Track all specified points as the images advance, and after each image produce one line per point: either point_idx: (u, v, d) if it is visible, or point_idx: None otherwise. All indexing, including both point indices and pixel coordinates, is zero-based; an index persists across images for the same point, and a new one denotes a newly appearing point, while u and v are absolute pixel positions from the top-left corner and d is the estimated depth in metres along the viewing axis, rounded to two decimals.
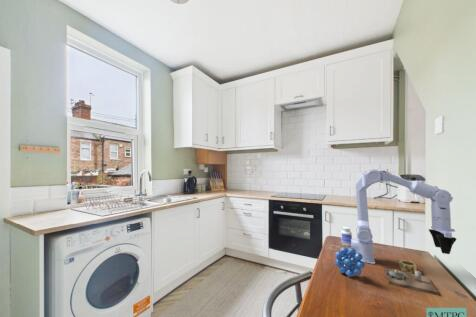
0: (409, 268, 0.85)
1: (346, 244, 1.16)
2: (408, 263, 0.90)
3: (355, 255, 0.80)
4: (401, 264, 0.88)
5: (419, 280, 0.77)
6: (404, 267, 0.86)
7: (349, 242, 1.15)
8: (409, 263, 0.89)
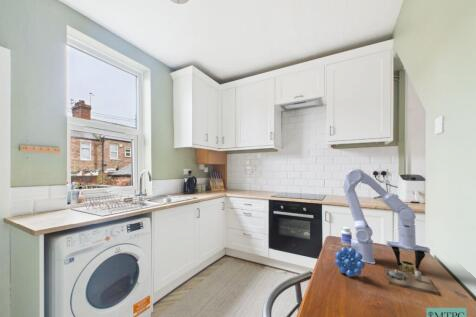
0: (409, 268, 0.85)
1: (346, 244, 1.16)
2: (408, 263, 0.90)
3: (355, 255, 0.80)
4: (401, 264, 0.88)
5: (419, 280, 0.77)
6: (404, 267, 0.86)
7: (349, 242, 1.15)
8: (409, 263, 0.89)
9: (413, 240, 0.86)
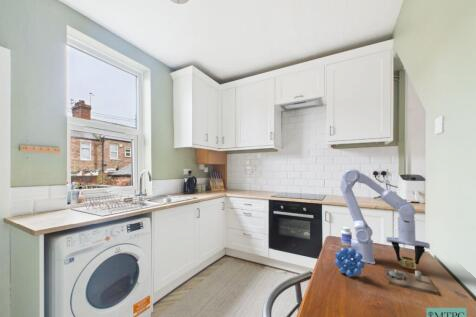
0: (409, 263, 0.85)
1: (346, 244, 1.16)
2: (408, 258, 0.90)
3: (355, 255, 0.80)
4: (401, 259, 0.88)
5: (419, 280, 0.77)
6: (404, 262, 0.87)
7: (349, 242, 1.15)
8: (409, 258, 0.89)
9: (413, 235, 0.86)
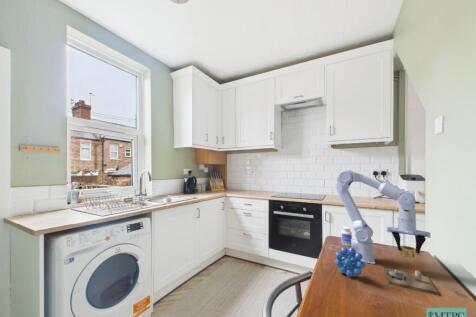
0: (410, 253, 0.85)
1: (346, 244, 1.16)
2: (408, 248, 0.89)
3: (355, 255, 0.80)
4: (401, 249, 0.88)
5: (419, 280, 0.77)
6: (405, 252, 0.86)
7: (349, 242, 1.15)
8: (409, 248, 0.89)
9: (414, 224, 0.86)
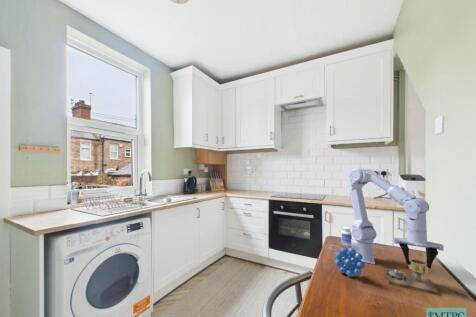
0: (420, 267, 0.75)
1: (346, 244, 1.16)
2: (418, 262, 0.79)
3: (355, 255, 0.80)
4: (410, 263, 0.78)
5: (419, 280, 0.77)
6: (414, 266, 0.76)
7: (349, 242, 1.15)
8: (419, 262, 0.79)
9: (424, 235, 0.76)
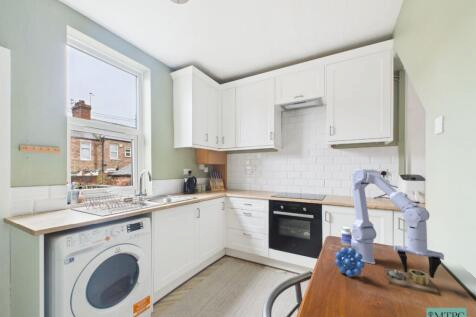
0: (420, 279, 0.75)
1: (346, 244, 1.16)
2: None
3: (355, 255, 0.80)
4: (411, 274, 0.78)
5: None
6: (414, 278, 0.76)
7: (349, 242, 1.15)
8: None
9: (425, 244, 0.76)
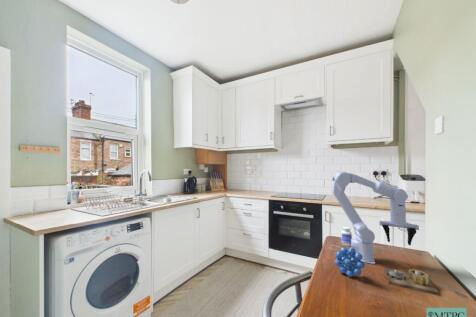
0: (420, 279, 0.75)
1: (346, 244, 1.16)
2: None
3: (355, 255, 0.80)
4: (411, 274, 0.78)
5: None
6: (414, 278, 0.76)
7: (349, 242, 1.15)
8: None
9: (404, 217, 0.93)
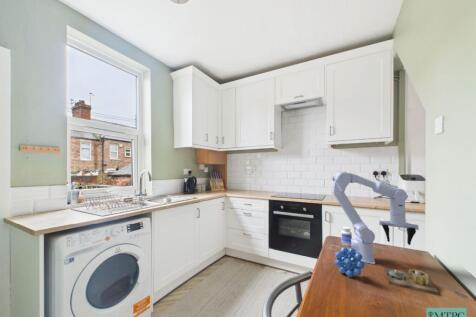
0: (420, 279, 0.75)
1: (346, 244, 1.16)
2: None
3: (355, 255, 0.80)
4: (411, 274, 0.78)
5: None
6: (414, 278, 0.76)
7: (349, 242, 1.15)
8: None
9: (403, 217, 0.93)
